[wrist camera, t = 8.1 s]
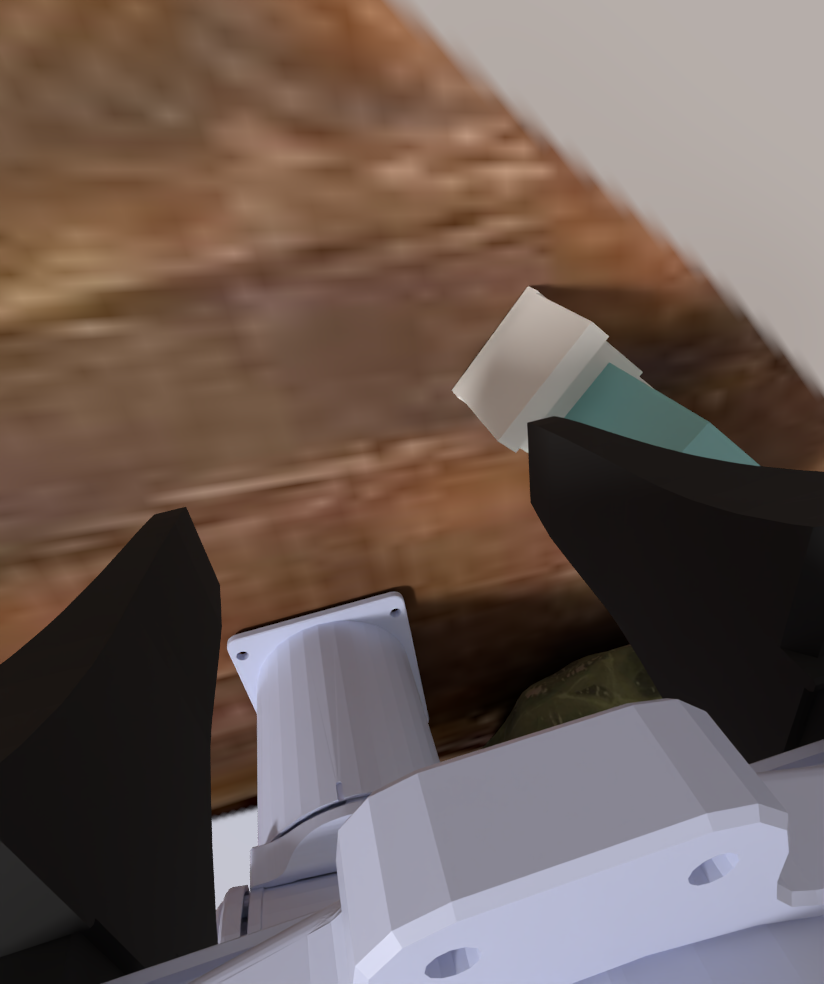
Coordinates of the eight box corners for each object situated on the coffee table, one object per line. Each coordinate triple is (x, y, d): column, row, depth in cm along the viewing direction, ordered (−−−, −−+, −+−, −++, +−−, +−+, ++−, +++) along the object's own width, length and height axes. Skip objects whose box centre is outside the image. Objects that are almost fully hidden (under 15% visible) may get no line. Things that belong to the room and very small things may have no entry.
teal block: (749, 478, 23) (858, 550, 19) (687, 542, 24) (777, 624, 20) (609, 362, 19) (709, 422, 15) (541, 445, 20) (617, 523, 16)
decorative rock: (654, 728, 40) (763, 885, 33) (440, 792, 36) (508, 989, 29) (729, 573, 32) (903, 737, 24) (459, 635, 27) (564, 857, 20)
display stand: (715, 442, 26) (797, 495, 22) (645, 518, 28) (712, 580, 24) (528, 286, 21) (594, 318, 17) (451, 390, 22) (496, 443, 18)
